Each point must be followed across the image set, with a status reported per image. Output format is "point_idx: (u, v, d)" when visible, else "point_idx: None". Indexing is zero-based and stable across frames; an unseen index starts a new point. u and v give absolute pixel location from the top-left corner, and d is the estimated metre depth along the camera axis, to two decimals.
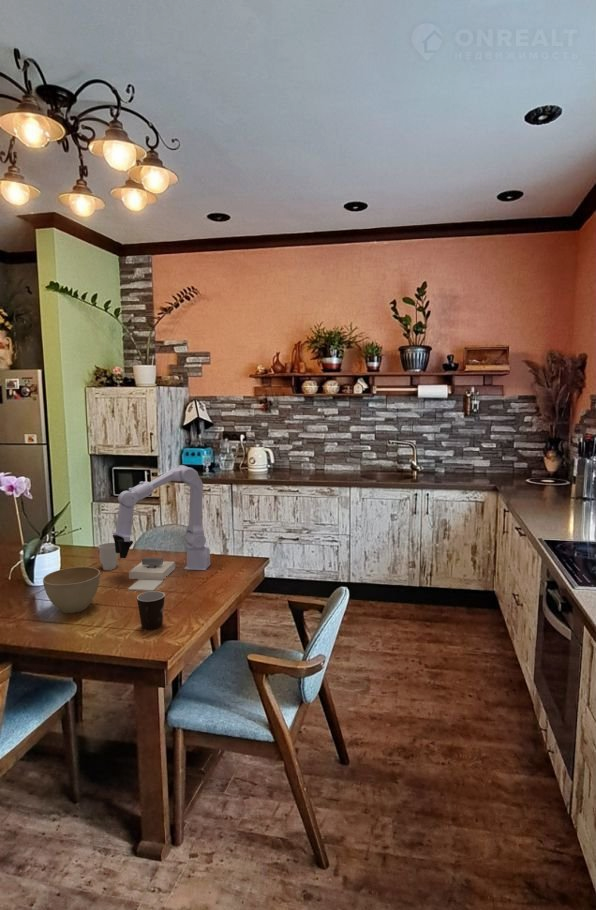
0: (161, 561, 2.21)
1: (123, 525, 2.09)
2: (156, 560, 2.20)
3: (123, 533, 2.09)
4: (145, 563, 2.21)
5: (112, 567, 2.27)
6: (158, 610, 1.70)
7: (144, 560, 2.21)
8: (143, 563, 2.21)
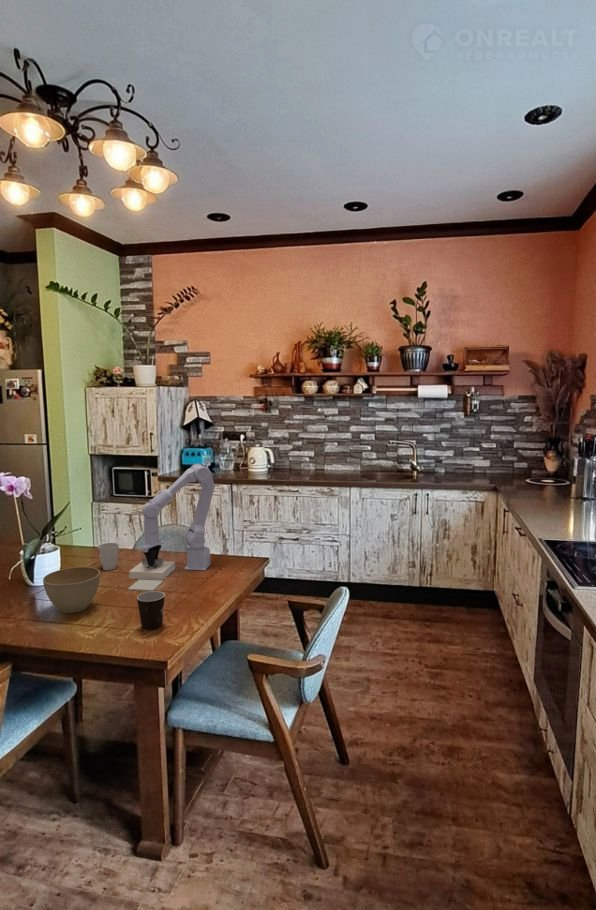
0: (161, 561, 2.21)
1: (146, 536, 2.18)
2: (156, 560, 2.20)
3: (147, 543, 2.18)
4: (145, 563, 2.21)
5: (112, 567, 2.27)
6: (158, 610, 1.70)
7: (144, 560, 2.21)
8: (143, 563, 2.21)
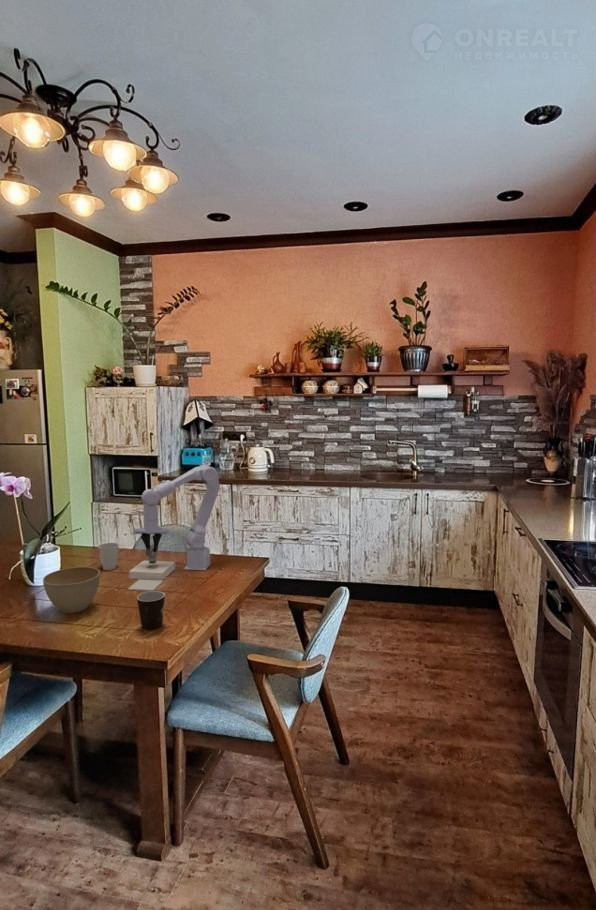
0: (148, 552, 2.17)
1: None
2: None
3: None
4: None
5: (112, 567, 2.27)
6: (158, 610, 1.70)
7: None
8: None
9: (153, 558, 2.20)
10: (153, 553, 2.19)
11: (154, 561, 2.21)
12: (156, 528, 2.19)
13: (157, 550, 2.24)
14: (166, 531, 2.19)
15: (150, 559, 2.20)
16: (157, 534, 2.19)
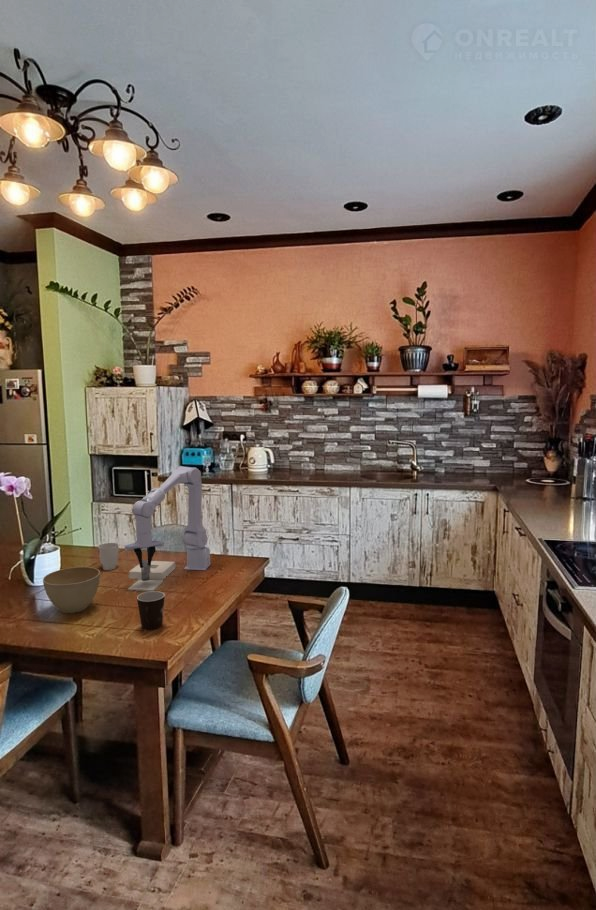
0: (146, 569, 2.04)
1: None
2: (142, 566, 2.05)
3: (136, 543, 2.06)
4: None
5: (112, 567, 2.27)
6: (158, 610, 1.70)
7: None
8: None
9: (148, 575, 2.07)
10: None
11: (148, 578, 2.08)
12: (151, 541, 2.06)
13: None
14: (162, 543, 2.08)
15: (145, 576, 2.06)
16: (152, 547, 2.07)
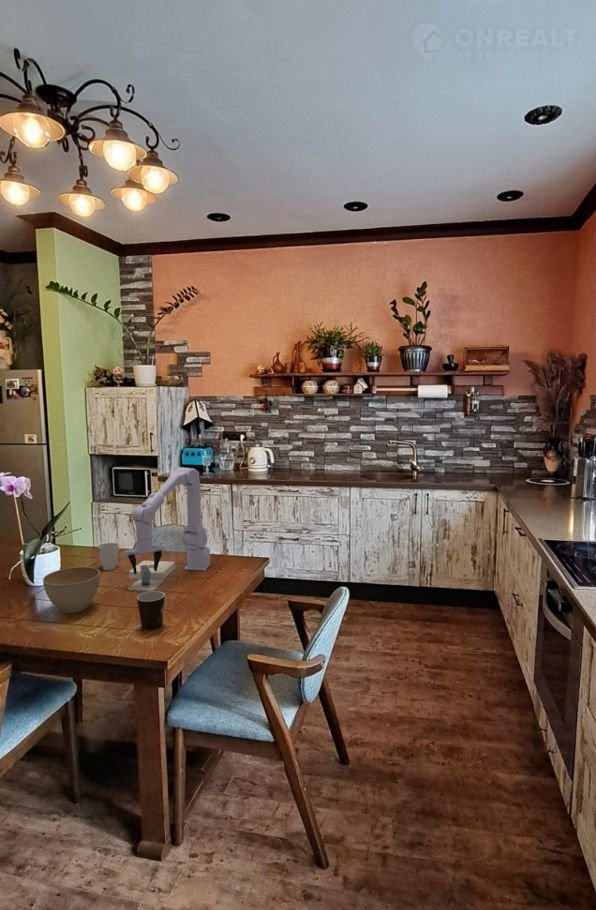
0: (146, 574, 2.04)
1: None
2: (143, 571, 2.05)
3: (136, 548, 2.06)
4: (141, 571, 2.09)
5: (112, 567, 2.27)
6: (158, 610, 1.70)
7: (140, 568, 2.10)
8: (140, 570, 2.10)
9: (148, 580, 2.07)
10: None
11: (149, 583, 2.08)
12: (151, 546, 2.06)
13: None
14: (162, 548, 2.08)
15: (145, 581, 2.07)
16: None
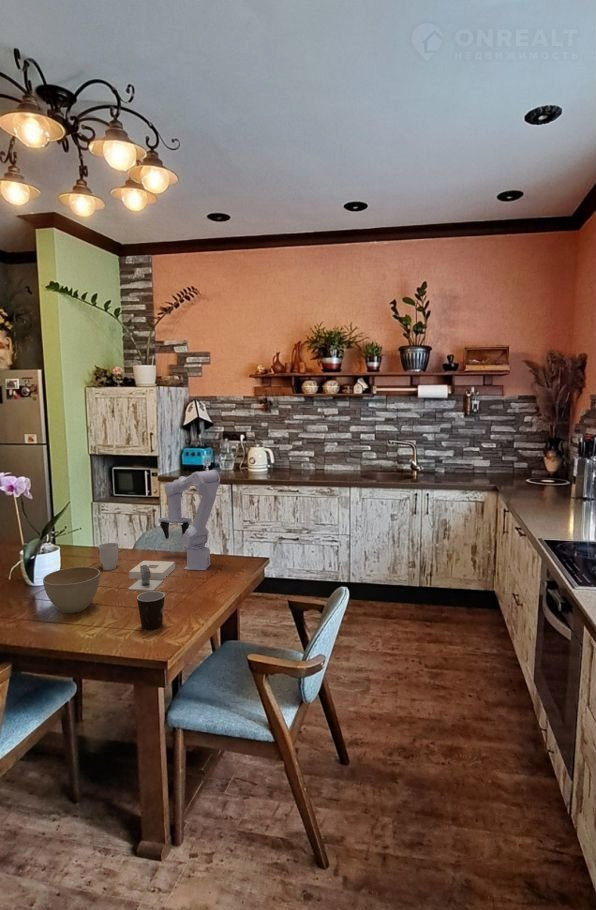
0: (146, 574, 2.04)
1: None
2: (143, 571, 2.05)
3: None
4: (141, 571, 2.09)
5: (112, 567, 2.27)
6: (158, 610, 1.70)
7: (140, 568, 2.10)
8: (140, 570, 2.10)
9: (148, 580, 2.07)
10: None
11: (149, 583, 2.08)
12: (179, 517, 2.37)
13: None
14: (188, 520, 2.37)
15: (145, 581, 2.07)
16: None
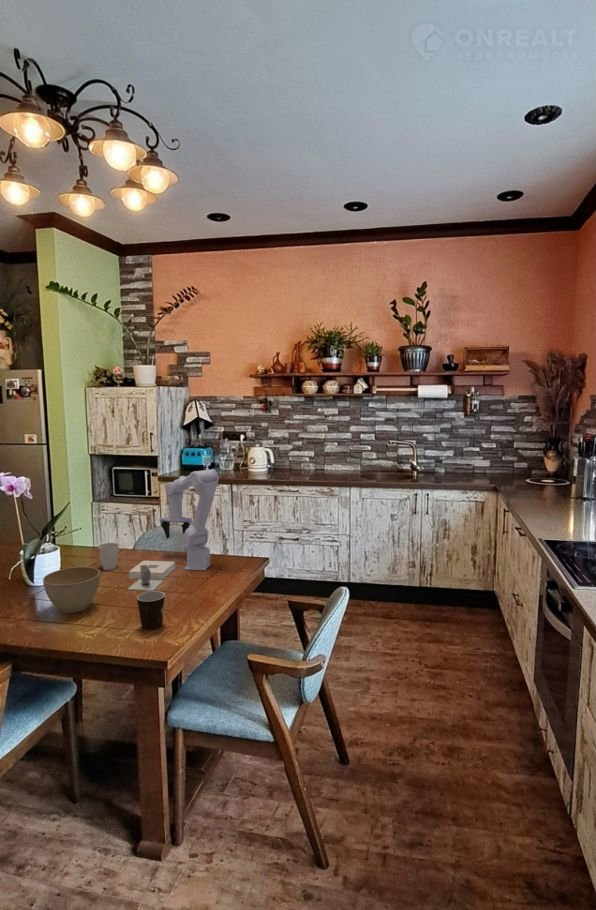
0: (146, 574, 2.04)
1: None
2: (143, 571, 2.05)
3: None
4: (141, 571, 2.09)
5: (112, 567, 2.27)
6: (158, 610, 1.70)
7: (140, 568, 2.10)
8: (140, 570, 2.10)
9: (148, 580, 2.07)
10: None
11: (149, 583, 2.08)
12: (180, 517, 2.38)
13: None
14: (189, 520, 2.38)
15: (145, 581, 2.07)
16: None
